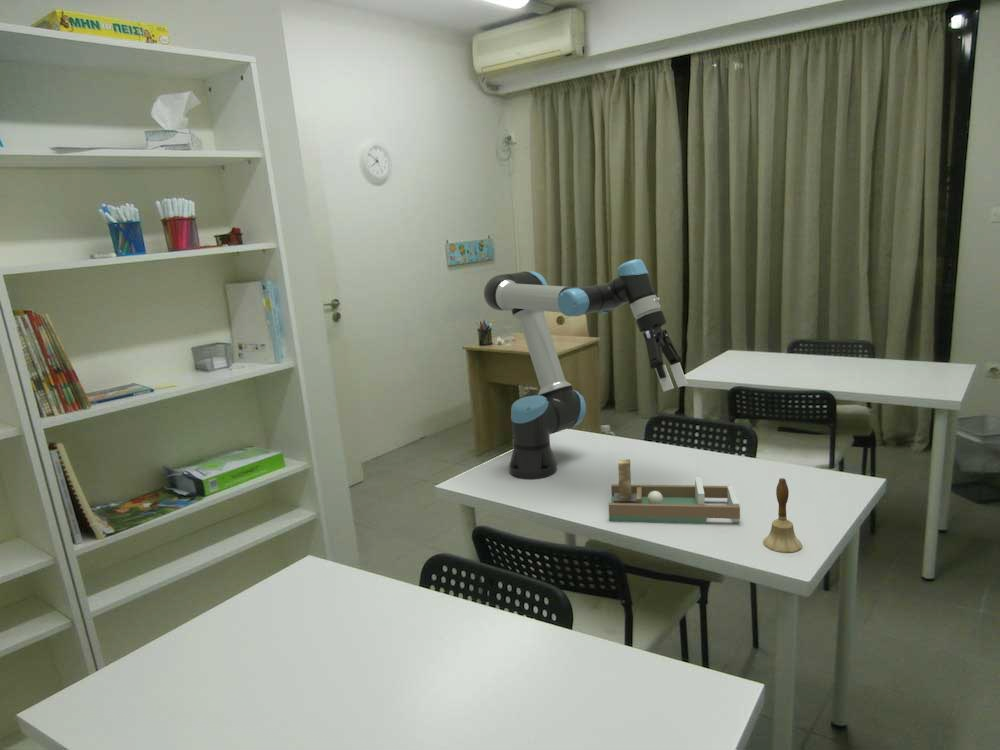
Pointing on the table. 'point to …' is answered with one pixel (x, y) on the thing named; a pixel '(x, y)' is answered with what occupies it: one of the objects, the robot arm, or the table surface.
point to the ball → (655, 497)
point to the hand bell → (782, 525)
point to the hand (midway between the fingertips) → (676, 388)
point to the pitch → (677, 504)
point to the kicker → (626, 485)
